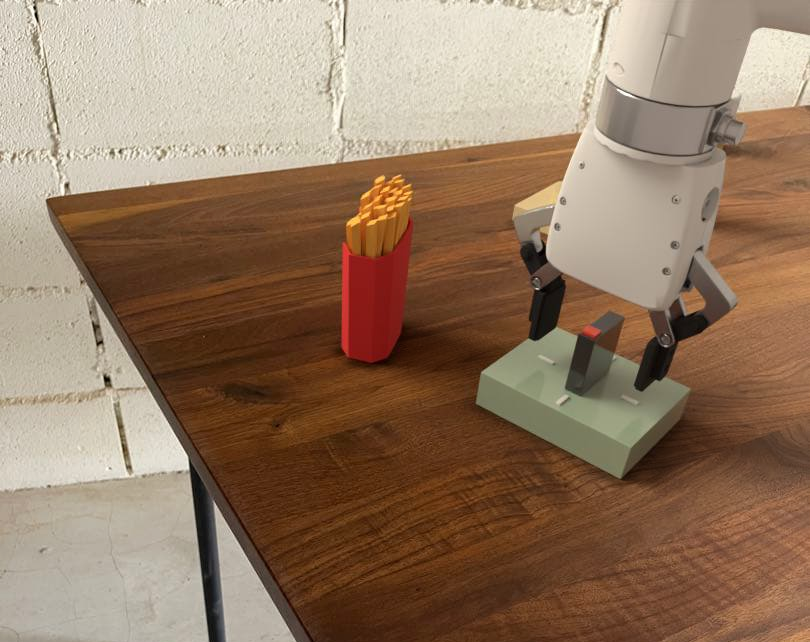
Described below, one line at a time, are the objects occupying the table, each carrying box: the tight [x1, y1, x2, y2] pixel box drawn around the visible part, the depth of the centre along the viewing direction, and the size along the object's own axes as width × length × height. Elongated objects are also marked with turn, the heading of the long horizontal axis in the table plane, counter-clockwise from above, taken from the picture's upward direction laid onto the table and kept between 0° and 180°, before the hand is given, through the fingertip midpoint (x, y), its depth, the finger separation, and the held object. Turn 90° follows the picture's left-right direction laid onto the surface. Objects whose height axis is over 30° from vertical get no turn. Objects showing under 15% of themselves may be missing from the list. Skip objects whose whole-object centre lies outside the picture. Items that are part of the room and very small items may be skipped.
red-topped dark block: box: [565, 310, 626, 396], centre depth 66 cm, size 5×1×5 cm, turn 142°
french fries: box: [341, 173, 414, 364], centre depth 70 cm, size 9×4×13 cm, turn 165°
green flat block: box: [475, 326, 692, 480], centre depth 69 cm, size 13×10×3 cm
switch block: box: [511, 180, 563, 236], centre depth 93 cm, size 11×9×4 cm
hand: (593, 357), depth 66 cm, fingers open, 8 cm apart
